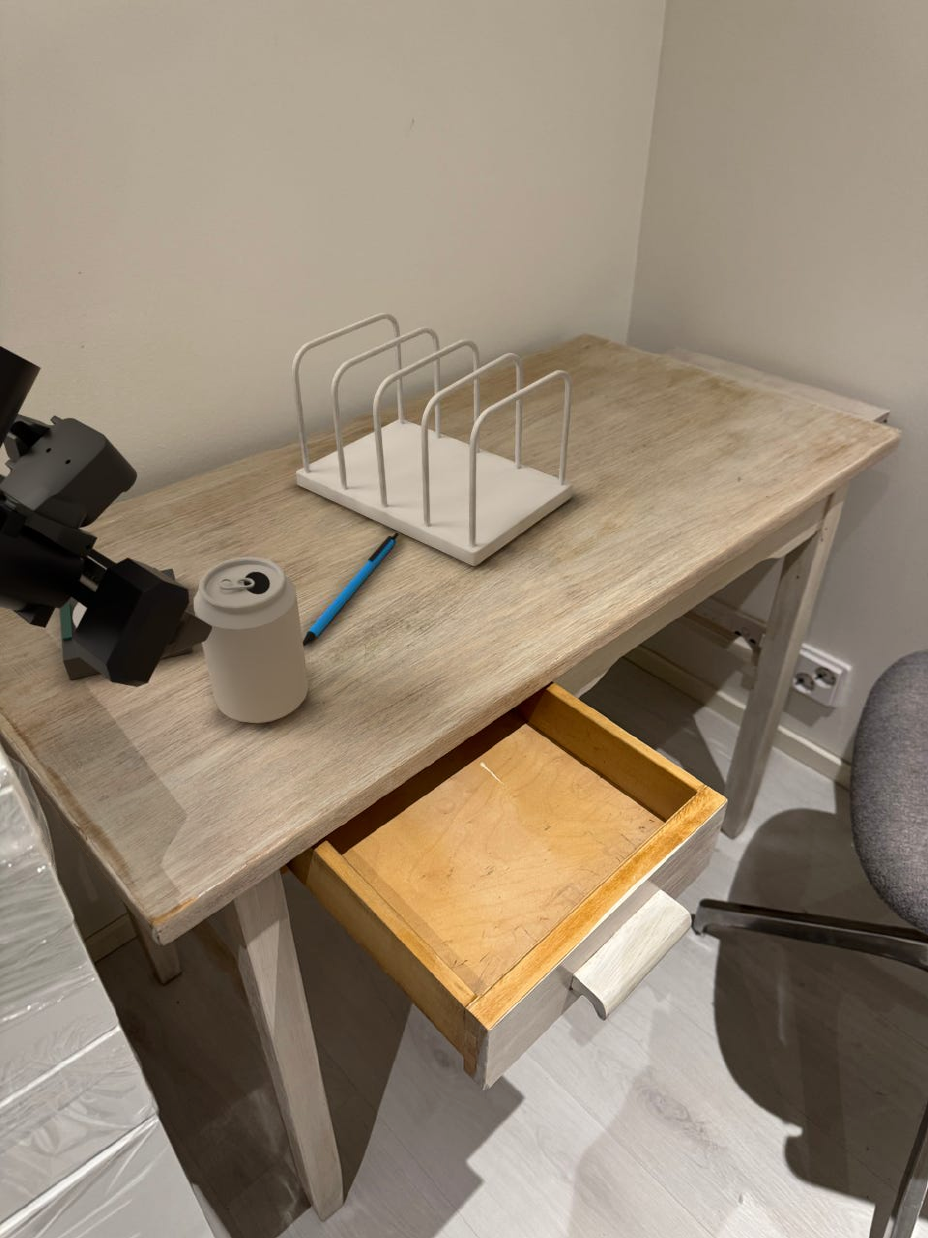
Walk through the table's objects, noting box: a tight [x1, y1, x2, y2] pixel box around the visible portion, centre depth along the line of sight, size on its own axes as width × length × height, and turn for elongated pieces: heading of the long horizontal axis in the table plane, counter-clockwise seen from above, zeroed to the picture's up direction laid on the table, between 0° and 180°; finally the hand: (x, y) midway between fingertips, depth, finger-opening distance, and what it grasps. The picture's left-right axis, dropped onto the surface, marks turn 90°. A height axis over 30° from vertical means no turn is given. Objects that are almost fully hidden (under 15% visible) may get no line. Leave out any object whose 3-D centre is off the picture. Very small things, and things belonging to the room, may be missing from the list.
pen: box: [302, 532, 399, 648], centre depth 84 cm, size 1×19×1 cm, turn 158°
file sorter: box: [291, 312, 574, 567], centre depth 93 cm, size 25×17×16 cm
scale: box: [58, 568, 193, 681], centre depth 78 cm, size 10×10×3 cm
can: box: [193, 556, 310, 724], centre depth 69 cm, size 8×8×12 cm
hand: (165, 604), depth 60 cm, fingers open, 9 cm apart
